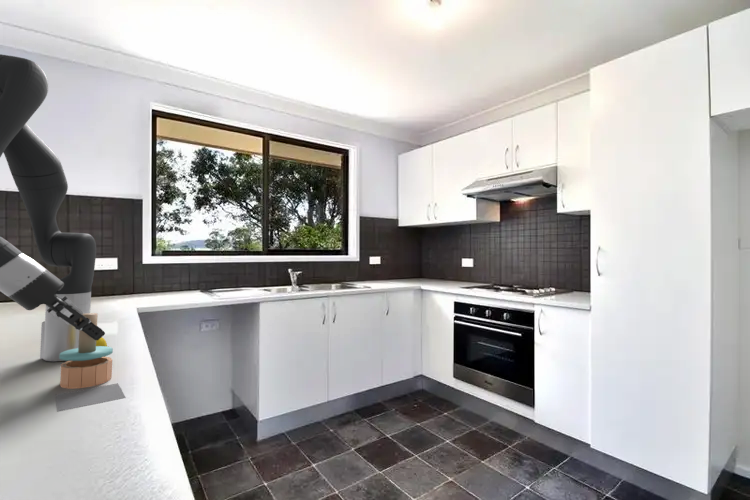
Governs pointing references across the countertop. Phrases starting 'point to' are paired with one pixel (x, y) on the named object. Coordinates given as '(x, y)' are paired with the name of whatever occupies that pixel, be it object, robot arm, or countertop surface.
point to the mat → (88, 397)
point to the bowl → (85, 373)
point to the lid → (86, 346)
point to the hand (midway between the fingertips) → (99, 335)
